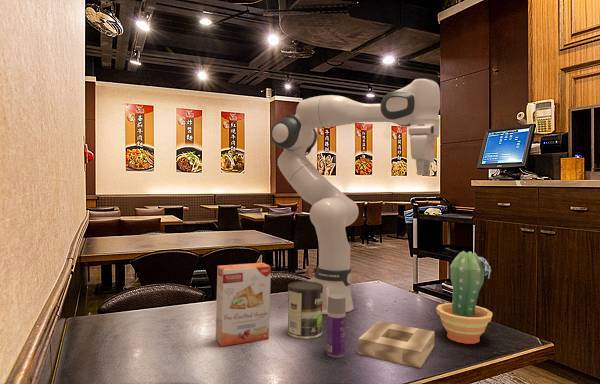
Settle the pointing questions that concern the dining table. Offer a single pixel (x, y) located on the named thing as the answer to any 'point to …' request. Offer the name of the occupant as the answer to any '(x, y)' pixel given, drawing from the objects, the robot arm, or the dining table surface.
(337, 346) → the container
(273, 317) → the dining table surface
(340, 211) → the robot arm
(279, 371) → the dining table surface
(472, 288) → the potted cactus
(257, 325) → the cracker box
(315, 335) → the coffee can
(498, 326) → the dining table surface
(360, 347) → the organizer block
